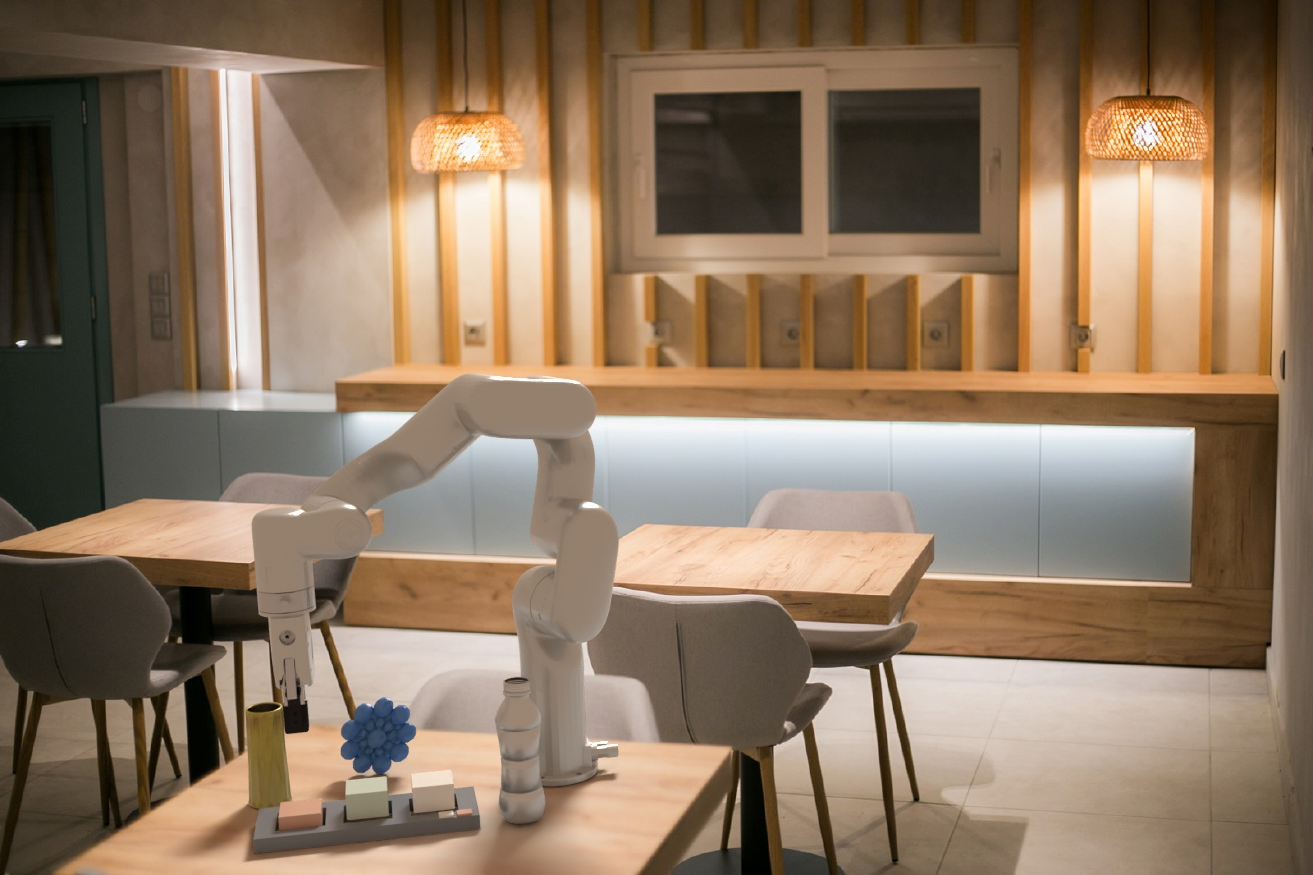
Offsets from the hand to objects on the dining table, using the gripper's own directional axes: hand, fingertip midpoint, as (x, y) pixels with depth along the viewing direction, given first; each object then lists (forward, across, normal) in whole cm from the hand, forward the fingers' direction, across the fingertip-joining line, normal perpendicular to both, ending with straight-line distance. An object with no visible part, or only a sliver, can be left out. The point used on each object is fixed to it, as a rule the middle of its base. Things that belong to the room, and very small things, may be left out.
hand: (297, 731), depth 196 cm
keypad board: (+15, 0, -9) cm, 17 cm away
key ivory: (+13, 0, -18) cm, 22 cm away
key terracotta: (+15, 0, 0) cm, 15 cm away
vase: (+15, +13, +5) cm, 20 cm away
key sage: (+13, 0, -9) cm, 15 cm away
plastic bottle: (+15, -4, -30) cm, 33 cm away
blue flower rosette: (+15, +21, -11) cm, 28 cm away
